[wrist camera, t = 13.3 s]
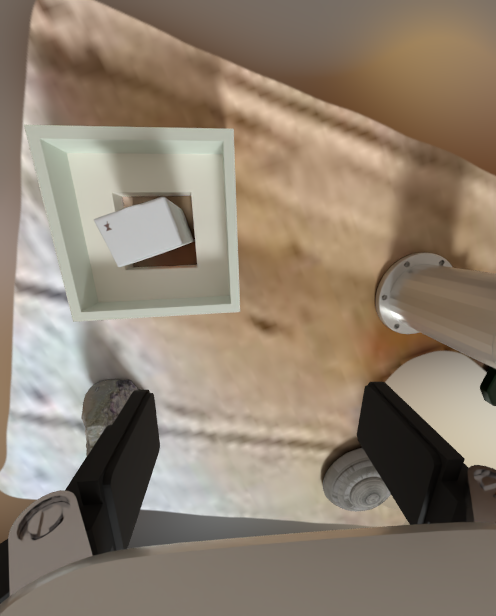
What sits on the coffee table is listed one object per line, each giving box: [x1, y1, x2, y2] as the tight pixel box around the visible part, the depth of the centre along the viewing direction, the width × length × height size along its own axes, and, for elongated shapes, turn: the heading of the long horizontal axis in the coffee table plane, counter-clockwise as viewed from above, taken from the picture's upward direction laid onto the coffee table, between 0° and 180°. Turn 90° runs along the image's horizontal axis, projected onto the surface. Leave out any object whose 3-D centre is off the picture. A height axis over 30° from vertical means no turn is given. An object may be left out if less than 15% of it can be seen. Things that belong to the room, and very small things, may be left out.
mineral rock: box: [82, 379, 138, 456], centre depth 33 cm, size 13×11×10 cm
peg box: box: [24, 125, 240, 322], centre depth 28 cm, size 18×18×7 cm
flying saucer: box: [323, 448, 391, 511], centre depth 46 cm, size 15×15×6 cm
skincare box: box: [94, 197, 194, 267], centre depth 26 cm, size 6×4×12 cm
